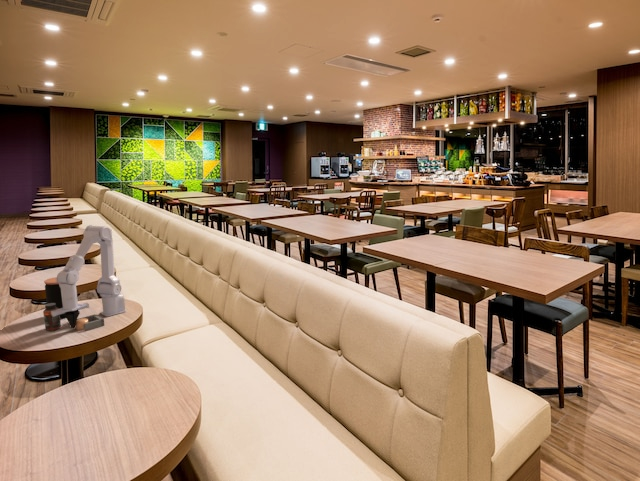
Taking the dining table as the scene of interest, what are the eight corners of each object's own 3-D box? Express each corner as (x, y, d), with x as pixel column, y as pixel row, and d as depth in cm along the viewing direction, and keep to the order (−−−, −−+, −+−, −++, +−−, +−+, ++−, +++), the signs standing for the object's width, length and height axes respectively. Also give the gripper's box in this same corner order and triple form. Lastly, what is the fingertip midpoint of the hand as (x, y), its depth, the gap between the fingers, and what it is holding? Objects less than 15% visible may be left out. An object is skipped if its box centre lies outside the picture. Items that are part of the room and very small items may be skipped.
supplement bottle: (64, 326, 189) (61, 302, 187) (54, 331, 183) (52, 306, 181) (52, 325, 190) (49, 301, 188) (42, 330, 184) (39, 306, 182)
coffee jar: (79, 312, 207) (75, 277, 203) (62, 320, 196) (58, 283, 193) (60, 311, 208) (56, 276, 205) (42, 318, 198) (38, 282, 195)
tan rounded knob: (86, 324, 191) (85, 317, 190) (90, 327, 188) (89, 320, 187) (74, 328, 187) (73, 320, 186) (78, 330, 184) (77, 323, 183)
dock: (95, 320, 196) (94, 314, 196) (104, 325, 190) (103, 319, 190) (77, 325, 190) (76, 319, 189) (85, 330, 184) (85, 324, 184)
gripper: (54, 303, 174) (58, 334, 176) (91, 295, 185) (94, 324, 187) (48, 300, 178) (51, 330, 181) (84, 292, 189) (87, 320, 192)
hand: (72, 327), depth 184 cm, fingers closed
